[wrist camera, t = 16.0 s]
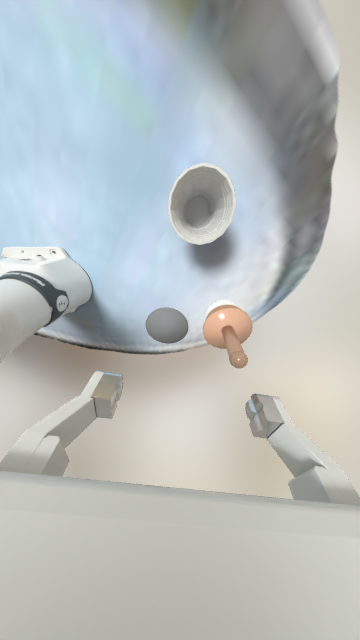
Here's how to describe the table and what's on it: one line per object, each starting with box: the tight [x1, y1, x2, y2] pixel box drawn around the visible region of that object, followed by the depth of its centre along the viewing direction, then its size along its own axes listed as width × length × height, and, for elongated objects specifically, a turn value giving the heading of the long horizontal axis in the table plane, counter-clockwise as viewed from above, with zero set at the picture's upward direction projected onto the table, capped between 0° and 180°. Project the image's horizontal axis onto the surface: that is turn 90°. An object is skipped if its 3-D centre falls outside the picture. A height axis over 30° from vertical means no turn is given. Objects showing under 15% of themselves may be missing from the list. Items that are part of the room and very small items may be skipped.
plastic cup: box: [168, 163, 235, 245], centre depth 31 cm, size 11×11×12 cm
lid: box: [203, 307, 252, 368], centre depth 36 cm, size 12×12×12 cm
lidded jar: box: [205, 300, 240, 321], centre depth 45 cm, size 11×11×9 cm
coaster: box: [146, 308, 188, 343], centre depth 52 cm, size 14×14×1 cm
